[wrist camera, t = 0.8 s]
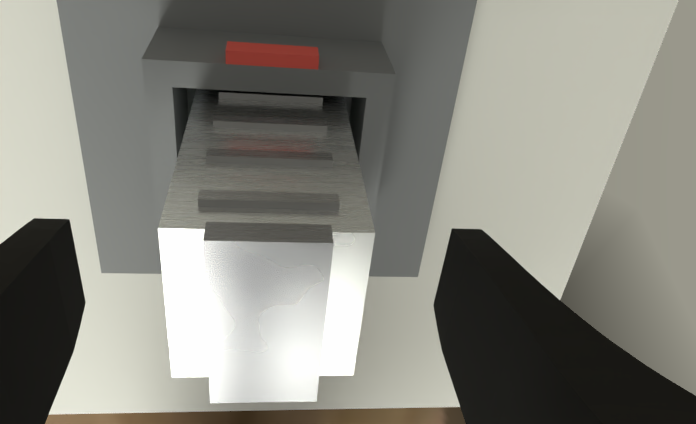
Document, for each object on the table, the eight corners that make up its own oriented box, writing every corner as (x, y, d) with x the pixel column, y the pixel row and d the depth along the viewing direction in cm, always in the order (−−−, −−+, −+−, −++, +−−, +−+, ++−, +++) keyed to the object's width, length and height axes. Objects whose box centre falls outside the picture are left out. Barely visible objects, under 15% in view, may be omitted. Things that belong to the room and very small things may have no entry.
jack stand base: (515, 398, 26) (545, 473, 23) (28, 406, 23) (-7, 493, 21) (848, -464, 12) (1039, -552, 9) (-304, -705, 9) (-582, -947, 6)
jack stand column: (329, 198, 18) (356, 401, 12) (204, 194, 17) (166, 404, 11) (341, 74, 15) (382, 244, 10) (199, 66, 15) (149, 239, 9)
